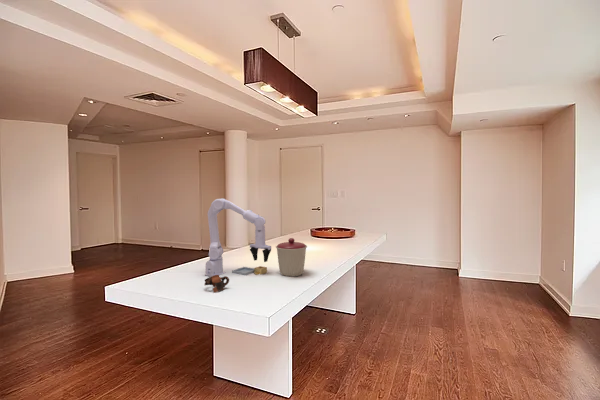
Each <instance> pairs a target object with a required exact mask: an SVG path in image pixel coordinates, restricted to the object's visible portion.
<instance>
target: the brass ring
mask: <svg viewBox="0 0 600 400" xmlns="http://www.w3.org/2000/svg"><path fill="white" fill-rule="evenodd" d="M253 268H254V273H253V274H254V275H256V276H263V275H262V274H264V275H266V274H265V273H267V274H268V267H267V266H262V265H259V266H256V267H253ZM259 274H260V275H259Z"/></svg>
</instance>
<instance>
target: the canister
mask: <svg viewBox="0 0 600 400" xmlns="http://www.w3.org/2000/svg"><path fill="white" fill-rule="evenodd" d="M275 248H276V253H277V263H278V267H279V272H280V274H281V275H282V276H284V277H299V276H301V275H303V273H304V270H305V261H306V255H307V254H306V253H307V252H306V251H307V248H308V245H307V244H305V243H303V242H298V241H295V239H294V238H293V237H291V238H290V237H289V238H288V241H285V242H281V243H278V244H277V245H275Z"/></svg>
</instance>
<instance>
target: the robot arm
mask: <svg viewBox="0 0 600 400" xmlns="http://www.w3.org/2000/svg"><path fill="white" fill-rule="evenodd" d="M223 210H231V211H233V212H235V213H237V214H239V215H241V216H242V218H243V219H244V220H246V221H247V222H249V223H251V224H253V225H254V226H255V229H254V230H255V231H254V233H255V234H254V235H255V237H254V239H255V240H254V241H255V243H251V244H249V251H250V253H251V254H252V258H253V261H258V252H259V249H262V254H263V261H264V263H266V262H268V259H269V256H270V254H271V252H272V245H267V244H266V226H265V224H266V219H265V217H264V216H261V215H260V214H258V213H255V212H254V211H253V210H252V209H246V210H245V209H243V208H242V207H240V206H239V205H237V204H235V203H233V202H232V201H231V200H228V199H226V198H224V197H223V198H221V197H220V198H216V199H214V200H213V201H212V202H211V204H210V207H209V208H208V211H207V220H208V221H207V222H208V228H209V229H208V231H209V240H210V241H209V243H210V244H209V251H208V257H209V260H208V261H206V262H205V273H204V275H205V276H207V277H211V276H214V275H219V276H220V275H223V274H226V273H227V272H225V271H223V270H224V269H223V267H224V265H223V262H224V259H223V254H224V249H223V247H222V243H221V240H220V233H219V231H220V230H219V222H218V214H219V213H220V212H221V211H223Z"/></svg>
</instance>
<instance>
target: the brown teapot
mask: <svg viewBox="0 0 600 400" xmlns="http://www.w3.org/2000/svg"><path fill="white" fill-rule="evenodd" d="M225 280H226V281H225ZM229 282H230V278H229V277H228V276H227V275H224V276H222V277H221V276H220V275H214V276H208V277H207V278H205V279H204V286H212V291H213V293H217V292H220V291H224V290H225V289H224V288H225V287H226V286H228V284H229Z"/></svg>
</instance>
